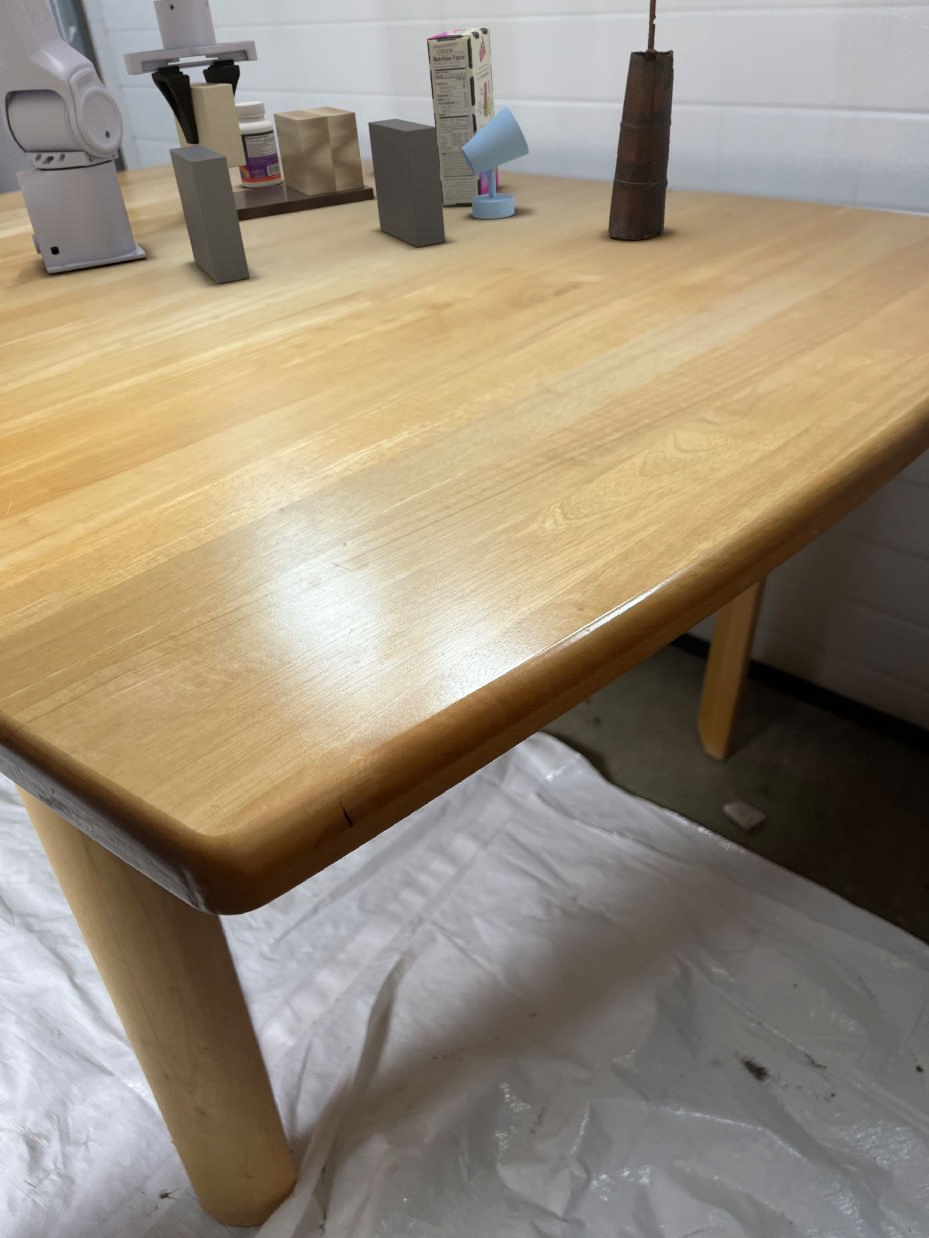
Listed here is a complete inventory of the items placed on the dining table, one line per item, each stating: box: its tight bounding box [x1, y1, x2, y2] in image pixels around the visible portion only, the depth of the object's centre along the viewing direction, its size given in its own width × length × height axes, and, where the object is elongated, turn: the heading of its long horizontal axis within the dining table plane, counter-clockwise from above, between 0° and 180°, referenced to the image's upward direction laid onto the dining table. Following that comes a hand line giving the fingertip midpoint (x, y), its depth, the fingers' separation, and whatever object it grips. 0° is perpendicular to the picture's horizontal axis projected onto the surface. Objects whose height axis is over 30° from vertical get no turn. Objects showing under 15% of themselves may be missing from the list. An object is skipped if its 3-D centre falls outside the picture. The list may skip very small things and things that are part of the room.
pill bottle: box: [235, 100, 283, 189], centre depth 123 cm, size 5×5×10 cm
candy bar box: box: [426, 26, 500, 207], centre depth 103 cm, size 11×5×16 cm, turn 168°
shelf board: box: [233, 106, 375, 221], centre depth 110 cm, size 20×12×9 cm, turn 115°
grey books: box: [169, 118, 446, 285], centre depth 87 cm, size 22×10×10 cm, turn 115°
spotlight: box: [461, 105, 530, 220], centre depth 96 cm, size 5×10×7 cm
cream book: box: [172, 81, 246, 169], centre depth 105 cm, size 4×10×8 cm, turn 36°
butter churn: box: [607, 0, 675, 240], centre depth 78 cm, size 9×10×28 cm
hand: (209, 141), depth 106 cm, fingers closed on cream book, 3 cm apart
